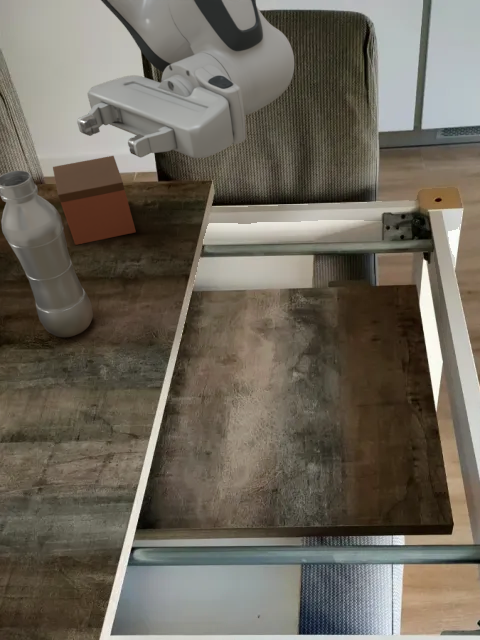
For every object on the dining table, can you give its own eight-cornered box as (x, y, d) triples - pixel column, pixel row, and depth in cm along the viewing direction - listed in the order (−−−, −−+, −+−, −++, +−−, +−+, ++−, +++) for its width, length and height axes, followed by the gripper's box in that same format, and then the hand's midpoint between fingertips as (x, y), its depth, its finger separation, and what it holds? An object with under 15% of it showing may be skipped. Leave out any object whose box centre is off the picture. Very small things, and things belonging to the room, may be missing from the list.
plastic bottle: (35, 340, 82) (-32, 191, 68) (62, 307, 87) (4, 161, 72) (82, 347, 81) (23, 197, 66) (106, 313, 86) (56, 166, 71)
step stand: (75, 245, 97) (57, 194, 91) (69, 215, 103) (52, 166, 97) (136, 232, 99) (122, 182, 93) (126, 204, 105) (113, 155, 99)
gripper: (135, 54, 85) (45, 89, 78) (249, 90, 75) (158, 133, 69) (146, 104, 89) (62, 142, 82) (255, 144, 80) (170, 189, 73)
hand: (106, 138), depth 75 cm, fingers open, 8 cm apart
